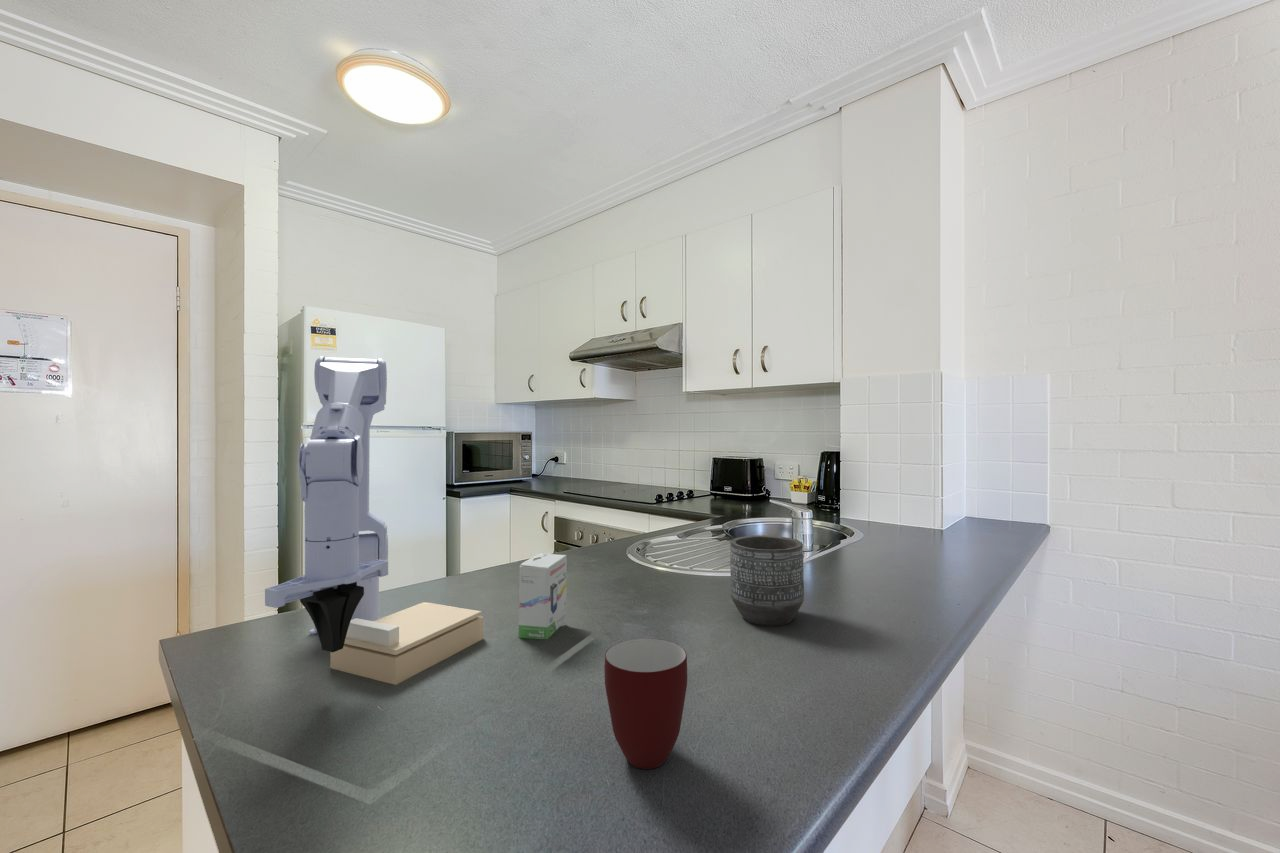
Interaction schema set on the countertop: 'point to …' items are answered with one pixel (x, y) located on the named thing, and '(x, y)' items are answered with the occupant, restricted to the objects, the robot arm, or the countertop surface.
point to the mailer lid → (407, 627)
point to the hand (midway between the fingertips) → (332, 649)
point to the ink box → (542, 595)
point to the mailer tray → (406, 655)
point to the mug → (646, 698)
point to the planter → (767, 578)
